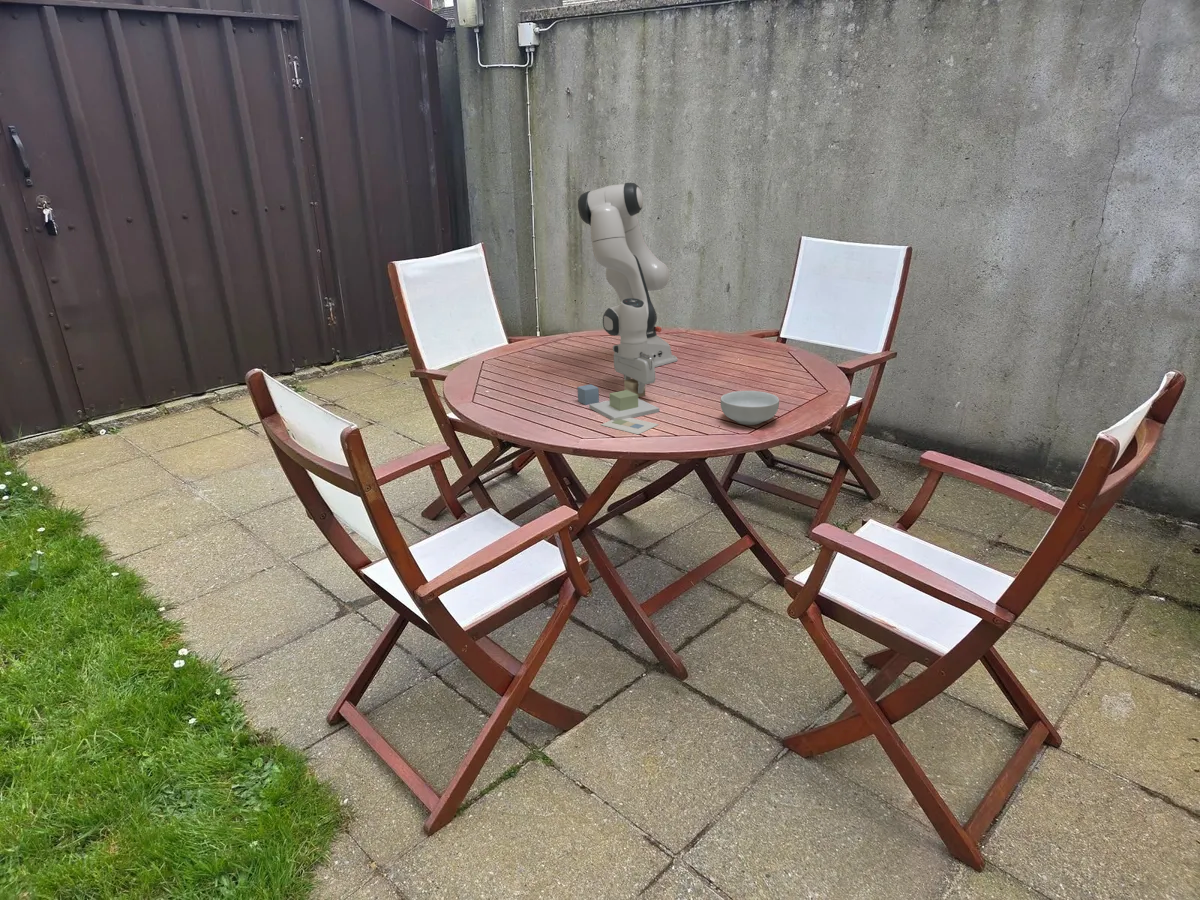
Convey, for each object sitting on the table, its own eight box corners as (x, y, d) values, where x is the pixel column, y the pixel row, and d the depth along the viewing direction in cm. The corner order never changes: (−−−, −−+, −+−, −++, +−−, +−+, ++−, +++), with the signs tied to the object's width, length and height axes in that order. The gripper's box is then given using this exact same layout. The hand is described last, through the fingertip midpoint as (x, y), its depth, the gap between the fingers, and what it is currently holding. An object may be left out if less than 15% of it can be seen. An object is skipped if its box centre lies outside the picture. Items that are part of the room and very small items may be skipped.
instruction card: (621, 416, 228) (621, 415, 228) (658, 424, 220) (658, 424, 220) (600, 425, 221) (600, 424, 221) (638, 434, 213) (638, 433, 213)
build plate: (632, 399, 244) (631, 383, 242) (659, 411, 231) (659, 395, 229) (589, 408, 237) (588, 392, 235) (615, 421, 224) (614, 405, 222)
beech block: (637, 392, 251) (637, 377, 249) (645, 395, 247) (645, 381, 245) (624, 394, 249) (624, 380, 247) (632, 398, 245) (632, 383, 243)
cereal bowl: (788, 418, 221) (789, 396, 218) (759, 434, 210) (760, 410, 207) (739, 408, 232) (740, 386, 229) (708, 422, 220) (709, 399, 218)
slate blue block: (591, 398, 246) (590, 384, 244) (598, 402, 242) (598, 387, 240) (578, 401, 244) (577, 386, 242) (585, 405, 240) (584, 390, 238)
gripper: (660, 354, 235) (660, 396, 240) (626, 342, 252) (626, 382, 257) (643, 357, 232) (643, 400, 237) (609, 345, 249) (611, 385, 254)
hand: (634, 390), depth 247 cm, fingers closed on beech block, 5 cm apart
